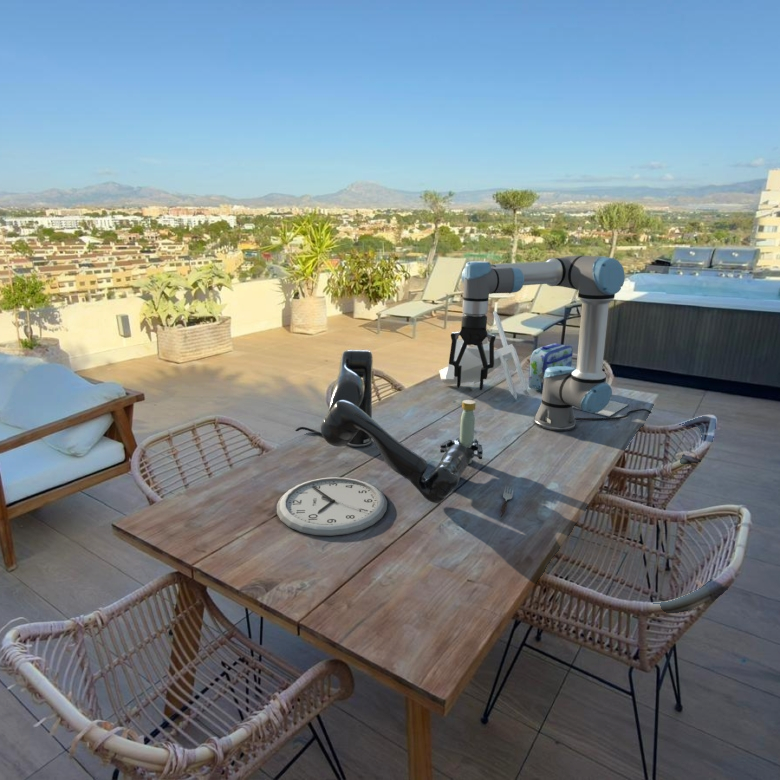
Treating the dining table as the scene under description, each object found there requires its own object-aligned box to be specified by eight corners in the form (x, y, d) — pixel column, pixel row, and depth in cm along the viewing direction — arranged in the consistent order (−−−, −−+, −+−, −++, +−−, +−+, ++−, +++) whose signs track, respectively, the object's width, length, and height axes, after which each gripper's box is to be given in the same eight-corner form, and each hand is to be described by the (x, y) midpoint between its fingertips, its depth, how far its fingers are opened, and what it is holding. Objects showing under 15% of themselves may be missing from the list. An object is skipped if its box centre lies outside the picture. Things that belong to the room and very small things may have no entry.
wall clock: (392, 527, 129) (268, 531, 127) (391, 533, 130) (269, 537, 127) (383, 473, 158) (282, 475, 155) (383, 478, 158) (282, 480, 156)
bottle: (460, 457, 174) (464, 400, 168) (473, 459, 172) (477, 402, 166) (456, 462, 170) (460, 403, 164) (469, 465, 169) (473, 406, 163)
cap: (464, 405, 168) (464, 399, 168) (476, 407, 167) (477, 401, 166) (460, 409, 165) (460, 402, 164) (472, 411, 163) (473, 404, 163)
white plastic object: (461, 429, 252) (437, 405, 227) (444, 352, 274) (420, 323, 250) (535, 404, 240) (518, 377, 215) (510, 326, 262) (492, 293, 237)
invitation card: (608, 416, 214) (573, 407, 224) (608, 416, 214) (573, 408, 224) (628, 404, 229) (594, 396, 238) (628, 405, 229) (594, 397, 238)
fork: (495, 518, 138) (496, 511, 137) (504, 491, 152) (505, 484, 151) (505, 520, 137) (506, 513, 136) (513, 492, 151) (514, 486, 150)
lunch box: (544, 395, 239) (549, 351, 233) (524, 390, 247) (528, 347, 240) (571, 384, 257) (577, 343, 251) (552, 380, 264) (556, 339, 258)
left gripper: (431, 468, 160) (446, 447, 176) (477, 476, 155) (489, 454, 171) (432, 445, 158) (447, 426, 173) (479, 453, 153) (490, 433, 168)
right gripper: (508, 314, 158) (502, 387, 165) (444, 310, 163) (441, 381, 170) (506, 318, 151) (500, 394, 158) (440, 314, 156) (437, 388, 163)
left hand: (468, 440), depth 172 cm, fingers closed on bottle, 4 cm apart
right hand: (469, 387), depth 164 cm, fingers open, 6 cm apart
